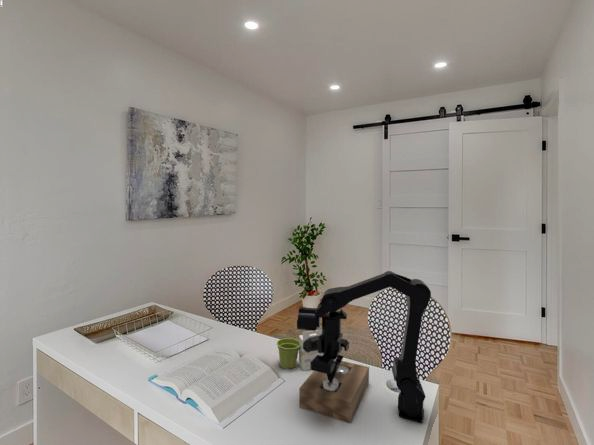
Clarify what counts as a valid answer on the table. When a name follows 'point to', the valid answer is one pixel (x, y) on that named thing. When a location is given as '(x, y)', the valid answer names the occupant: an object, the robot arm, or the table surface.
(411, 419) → the robot arm
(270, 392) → the table surface
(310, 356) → the ink cartridge box
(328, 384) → the peg near
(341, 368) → the peg far
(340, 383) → the walnut block
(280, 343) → the plant pot
